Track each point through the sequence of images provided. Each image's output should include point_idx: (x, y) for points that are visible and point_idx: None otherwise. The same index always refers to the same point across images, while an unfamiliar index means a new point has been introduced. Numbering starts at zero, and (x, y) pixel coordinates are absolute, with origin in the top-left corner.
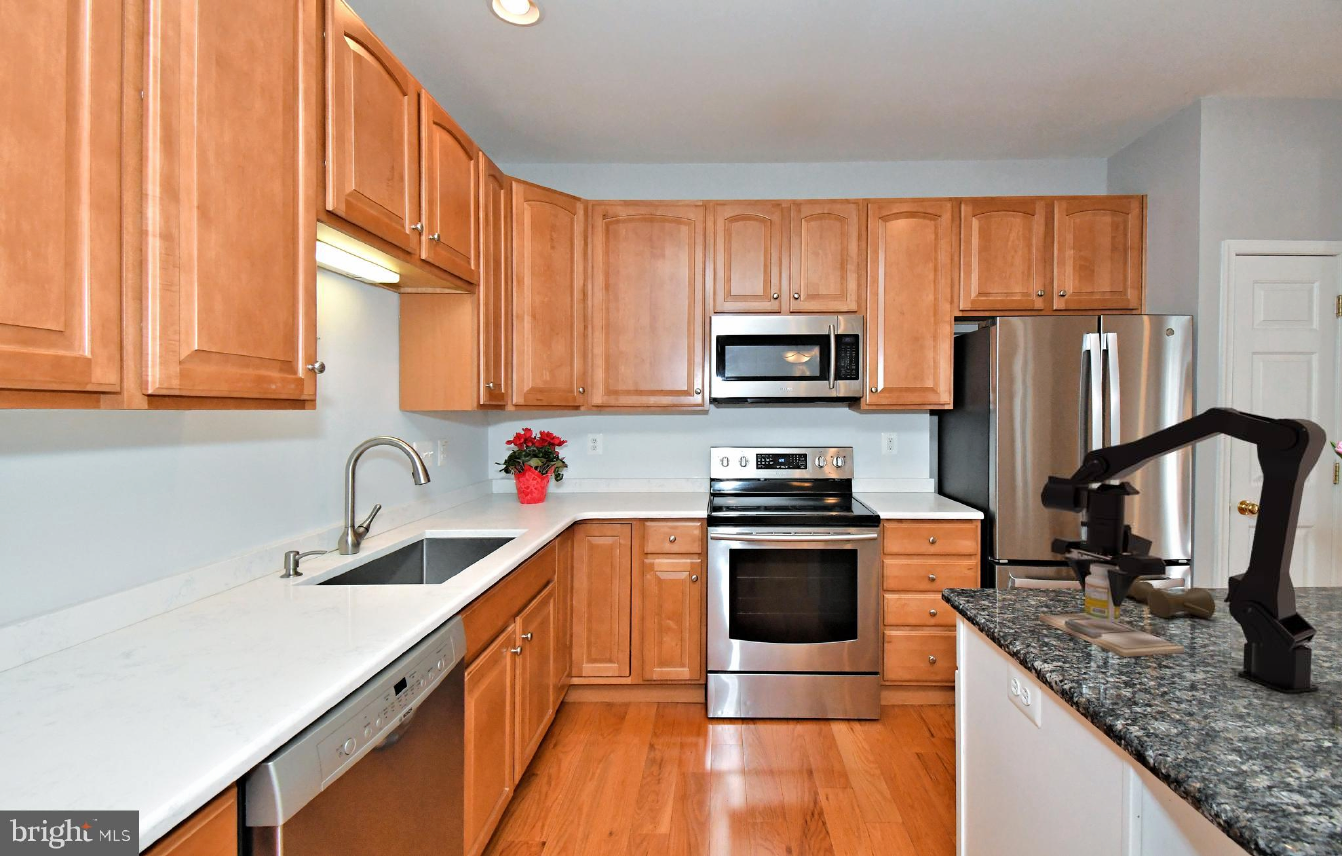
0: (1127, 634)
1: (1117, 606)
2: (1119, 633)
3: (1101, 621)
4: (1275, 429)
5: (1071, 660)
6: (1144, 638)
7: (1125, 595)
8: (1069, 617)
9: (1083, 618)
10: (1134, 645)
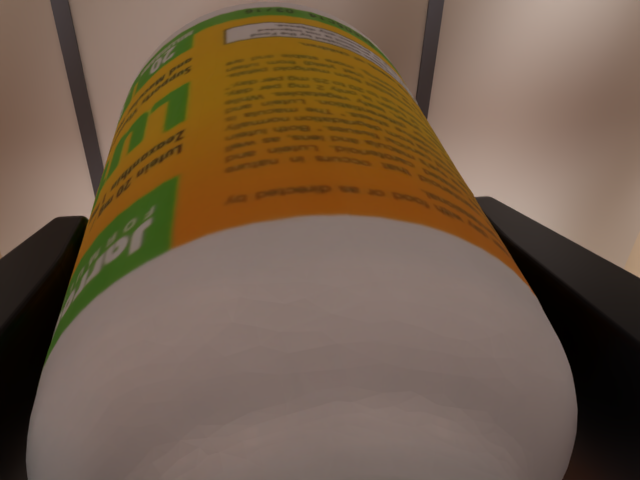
0: (479, 77)
1: None
2: (441, 118)
3: (155, 10)
4: None
5: None
6: (587, 16)
7: (602, 263)
8: (47, 209)
9: (65, 111)
10: (620, 207)
